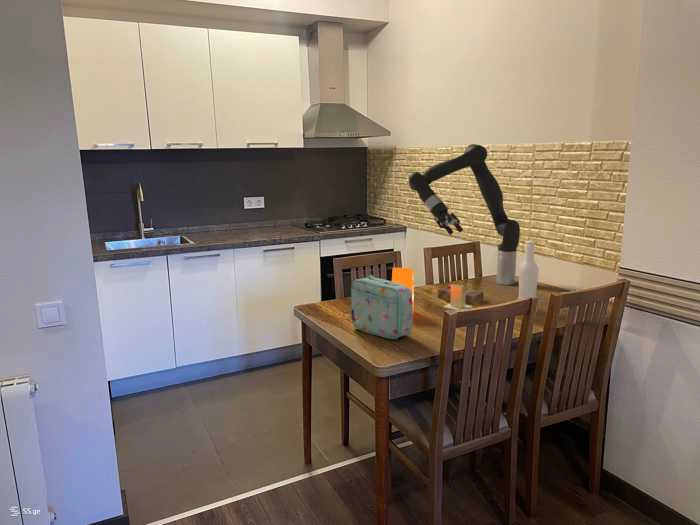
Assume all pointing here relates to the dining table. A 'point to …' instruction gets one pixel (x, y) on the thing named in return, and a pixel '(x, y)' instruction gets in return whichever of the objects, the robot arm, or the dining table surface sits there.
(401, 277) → the orange juice
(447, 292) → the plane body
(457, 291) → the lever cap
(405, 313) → the lunch box
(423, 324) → the dining table surface
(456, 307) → the pad
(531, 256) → the bottle
